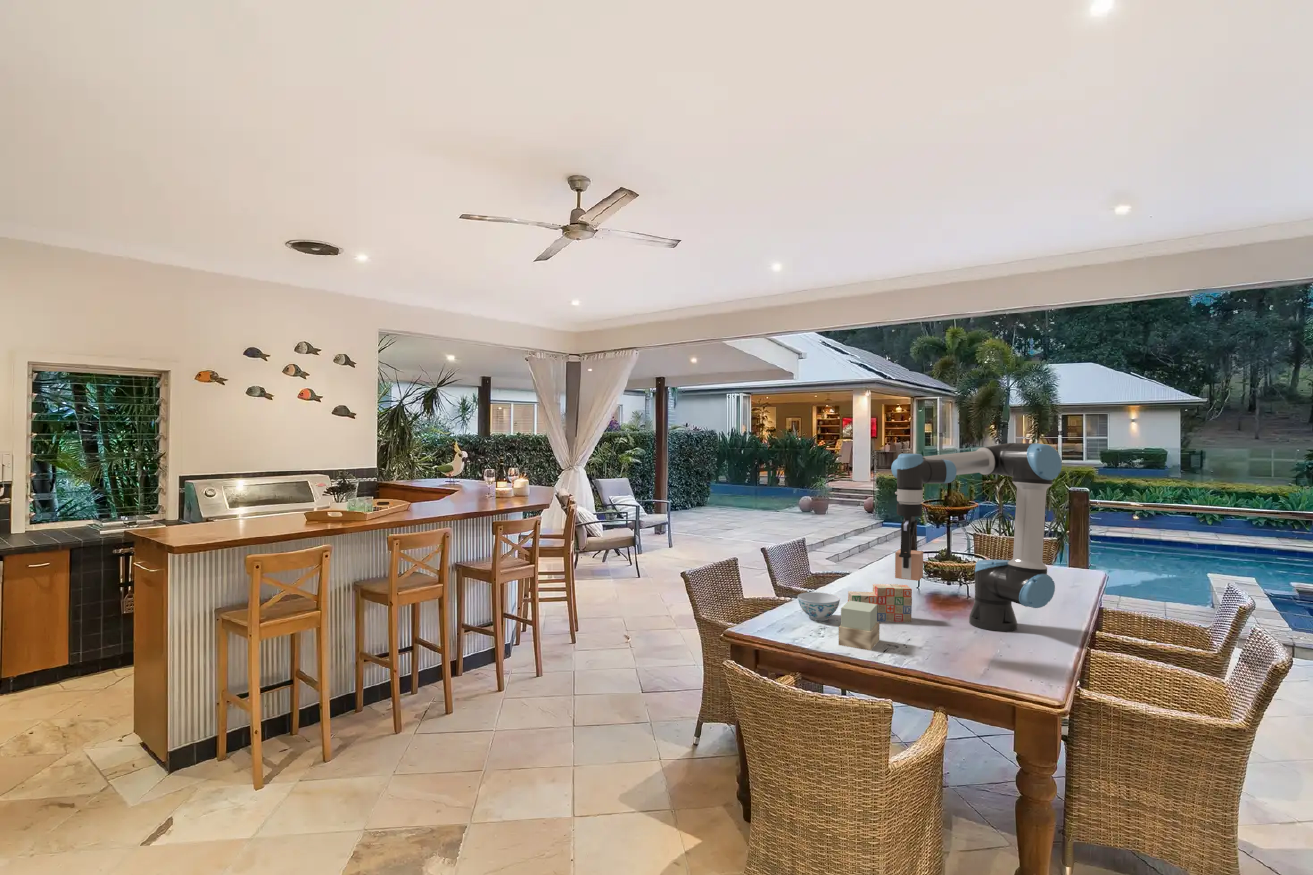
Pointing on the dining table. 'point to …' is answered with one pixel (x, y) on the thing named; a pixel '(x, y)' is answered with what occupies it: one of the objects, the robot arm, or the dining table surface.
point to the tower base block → (859, 637)
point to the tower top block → (859, 615)
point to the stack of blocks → (887, 601)
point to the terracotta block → (915, 565)
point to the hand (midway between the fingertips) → (908, 576)
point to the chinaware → (818, 604)
